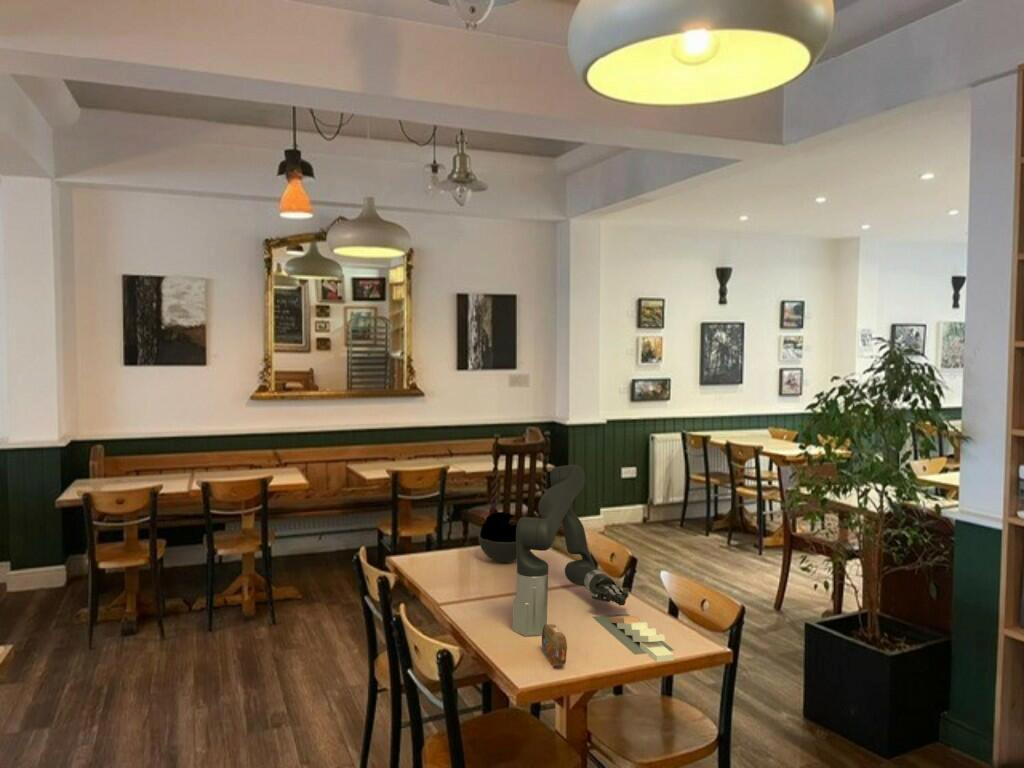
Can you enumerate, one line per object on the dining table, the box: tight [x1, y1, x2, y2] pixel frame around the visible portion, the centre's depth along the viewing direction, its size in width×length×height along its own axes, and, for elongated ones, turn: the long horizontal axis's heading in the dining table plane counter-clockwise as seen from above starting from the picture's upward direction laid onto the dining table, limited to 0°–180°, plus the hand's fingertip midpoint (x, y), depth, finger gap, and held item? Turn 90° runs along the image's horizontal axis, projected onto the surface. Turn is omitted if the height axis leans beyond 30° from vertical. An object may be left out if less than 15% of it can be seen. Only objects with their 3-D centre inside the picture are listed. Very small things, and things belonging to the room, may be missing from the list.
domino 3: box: [625, 627, 657, 636], centre depth 216 cm, size 2×5×10 cm
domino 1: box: [610, 615, 641, 623], centre depth 225 cm, size 2×5×10 cm
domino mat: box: [592, 613, 675, 655], centre depth 222 cm, size 30×12×1 cm, turn 17°
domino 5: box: [640, 641, 675, 663], centre depth 206 cm, size 2×5×10 cm
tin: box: [541, 623, 568, 668], centre depth 202 cm, size 15×3×8 cm, turn 14°
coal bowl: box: [477, 511, 517, 564], centre depth 294 cm, size 20×20×19 cm
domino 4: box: [632, 633, 666, 642], centre depth 211 cm, size 2×5×10 cm
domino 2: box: [617, 621, 649, 630], centre depth 221 cm, size 2×5×10 cm
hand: (622, 602), depth 227 cm, fingers closed
